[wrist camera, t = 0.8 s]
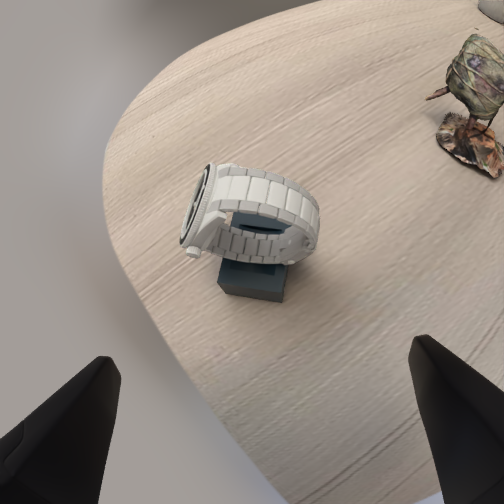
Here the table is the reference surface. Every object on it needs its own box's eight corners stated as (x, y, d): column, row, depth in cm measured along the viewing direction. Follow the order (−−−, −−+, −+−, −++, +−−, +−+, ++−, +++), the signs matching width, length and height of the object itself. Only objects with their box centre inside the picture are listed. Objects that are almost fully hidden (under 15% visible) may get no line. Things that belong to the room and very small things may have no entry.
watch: (217, 224, 27) (177, 138, 16) (315, 238, 25) (329, 150, 15) (200, 290, 25) (142, 231, 15) (305, 307, 24) (318, 256, 13)
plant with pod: (442, 95, 30) (488, -44, 11) (512, 160, 26) (594, 33, 8) (407, 120, 29) (455, -50, 10) (486, 195, 25) (592, 45, 6)
